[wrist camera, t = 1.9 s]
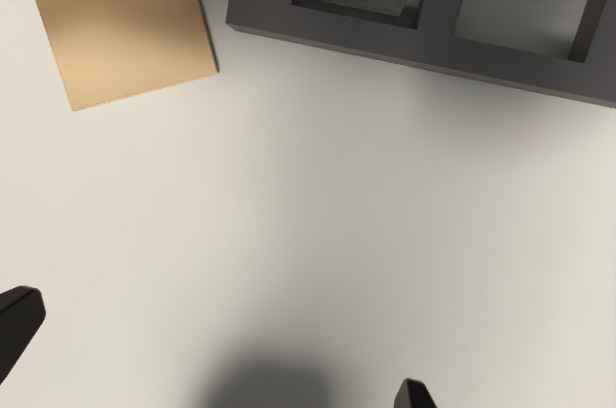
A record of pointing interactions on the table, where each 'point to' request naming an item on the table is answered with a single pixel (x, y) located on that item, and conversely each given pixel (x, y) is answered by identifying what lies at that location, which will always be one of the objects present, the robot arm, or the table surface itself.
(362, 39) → the dark gray slotted board
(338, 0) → the gray block
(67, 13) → the cork pad
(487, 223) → the table surface
